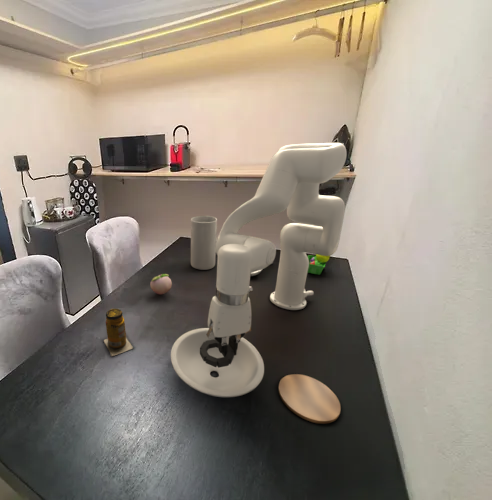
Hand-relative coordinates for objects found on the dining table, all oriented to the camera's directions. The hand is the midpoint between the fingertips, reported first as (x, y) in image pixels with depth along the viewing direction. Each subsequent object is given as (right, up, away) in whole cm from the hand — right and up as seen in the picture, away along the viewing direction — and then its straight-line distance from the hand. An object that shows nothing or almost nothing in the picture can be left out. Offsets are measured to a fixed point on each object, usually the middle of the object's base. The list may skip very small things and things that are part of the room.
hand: (227, 352), depth 71 cm
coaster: (+18, -9, -6) cm, 21 cm away
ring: (-3, -1, 0) cm, 3 cm away
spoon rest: (+33, +18, +59) cm, 70 cm away
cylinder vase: (+9, +19, +67) cm, 71 cm away
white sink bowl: (-3, -7, +2) cm, 8 cm away
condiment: (-31, -4, +16) cm, 35 cm away
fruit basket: (+60, +18, +55) cm, 83 cm away
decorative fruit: (-14, +8, +43) cm, 46 cm away
